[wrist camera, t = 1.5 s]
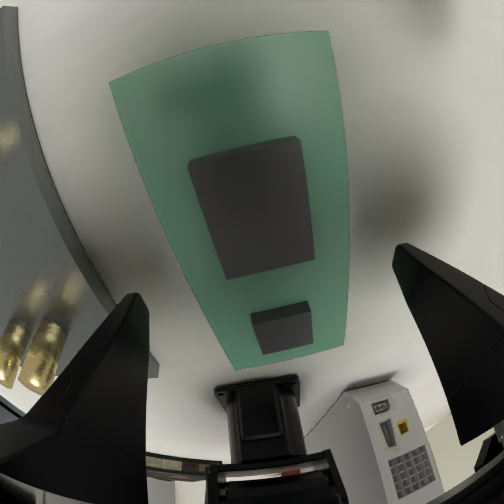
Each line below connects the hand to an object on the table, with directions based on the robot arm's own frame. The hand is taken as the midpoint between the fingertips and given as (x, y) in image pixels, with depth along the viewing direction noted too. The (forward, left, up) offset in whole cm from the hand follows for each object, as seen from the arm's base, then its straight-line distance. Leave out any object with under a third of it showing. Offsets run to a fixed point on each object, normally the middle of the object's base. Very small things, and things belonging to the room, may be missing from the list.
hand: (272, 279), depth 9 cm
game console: (-31, -6, -3) cm, 32 cm away
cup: (-78, +29, -3) cm, 83 cm away
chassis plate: (+2, +15, -3) cm, 15 cm away
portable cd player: (-50, +25, -4) cm, 56 cm away
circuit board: (0, 0, -4) cm, 4 cm away
